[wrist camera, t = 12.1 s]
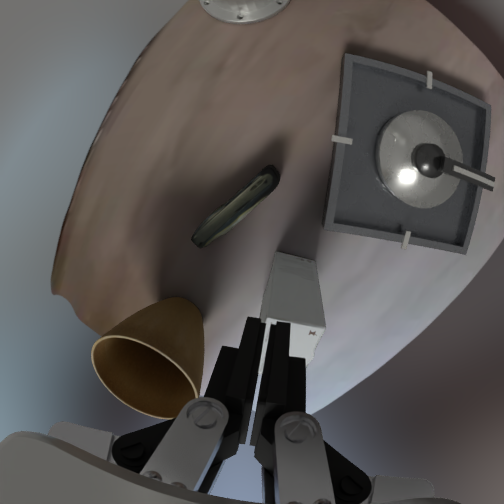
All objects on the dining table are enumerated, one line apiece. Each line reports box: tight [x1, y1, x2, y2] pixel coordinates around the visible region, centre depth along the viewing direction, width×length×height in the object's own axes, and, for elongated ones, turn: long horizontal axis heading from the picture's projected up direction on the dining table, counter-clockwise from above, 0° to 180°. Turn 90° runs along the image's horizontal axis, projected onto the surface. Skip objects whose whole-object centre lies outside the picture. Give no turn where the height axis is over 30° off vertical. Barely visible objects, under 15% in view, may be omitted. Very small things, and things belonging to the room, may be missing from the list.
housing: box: [322, 53, 491, 255], centre depth 29 cm, size 23×23×3 cm
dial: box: [375, 110, 495, 208], centre depth 27 cm, size 16×12×6 cm
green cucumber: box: [191, 165, 280, 248], centre depth 35 cm, size 5×3×15 cm
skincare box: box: [258, 252, 326, 374], centre depth 33 cm, size 8×6×15 cm
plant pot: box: [91, 297, 204, 419], centre depth 37 cm, size 15×15×16 cm
